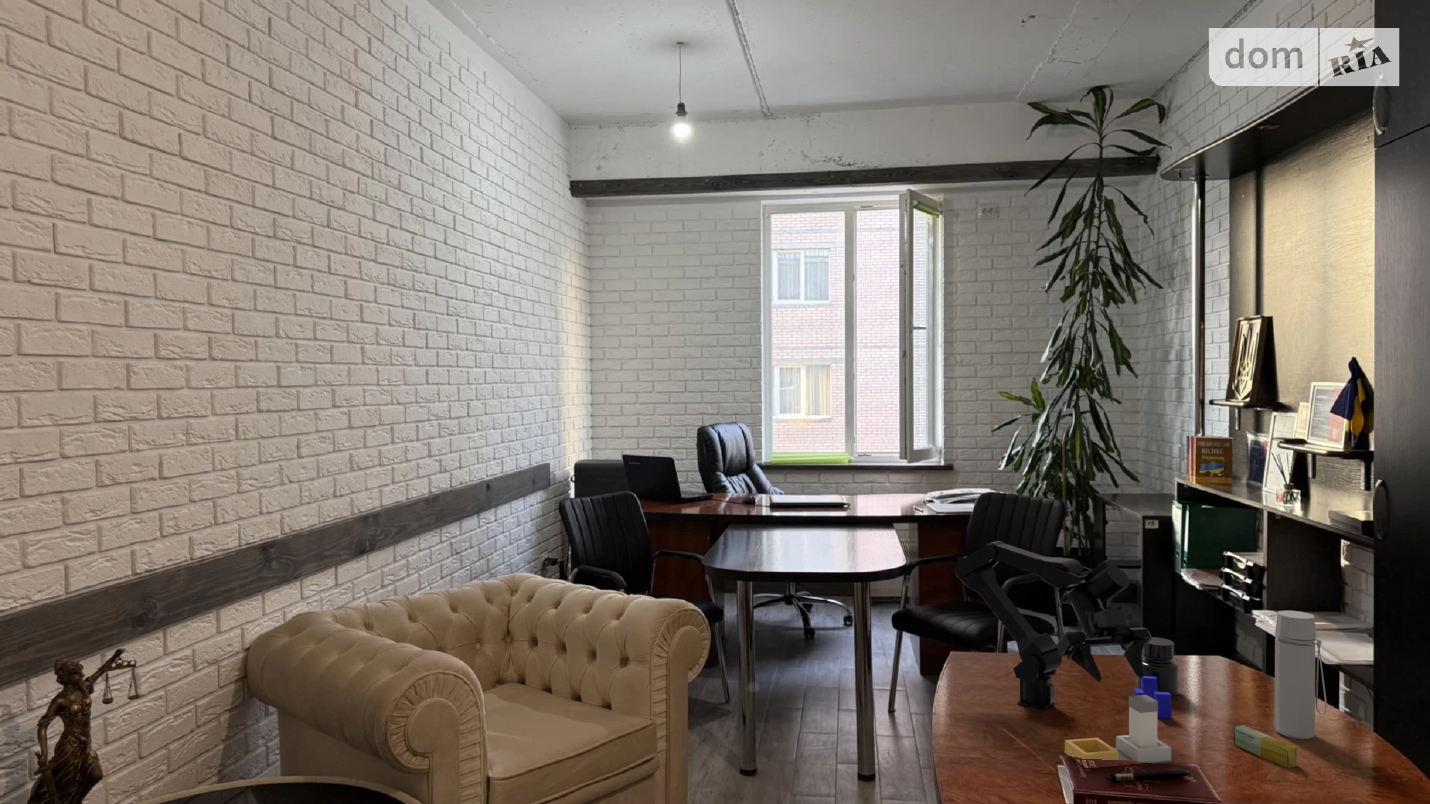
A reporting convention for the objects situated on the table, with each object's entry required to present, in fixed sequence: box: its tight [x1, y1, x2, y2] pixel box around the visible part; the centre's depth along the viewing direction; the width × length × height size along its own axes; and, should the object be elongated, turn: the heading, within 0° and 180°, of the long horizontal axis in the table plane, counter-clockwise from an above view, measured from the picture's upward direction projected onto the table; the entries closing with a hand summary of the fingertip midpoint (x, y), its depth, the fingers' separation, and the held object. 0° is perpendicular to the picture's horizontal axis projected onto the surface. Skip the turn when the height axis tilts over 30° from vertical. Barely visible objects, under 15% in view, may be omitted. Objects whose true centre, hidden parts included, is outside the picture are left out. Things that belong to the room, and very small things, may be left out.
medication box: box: [1233, 724, 1298, 769], centre depth 178 cm, size 12×3×4 cm, turn 20°
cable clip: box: [1133, 676, 1172, 720], centre depth 202 cm, size 12×4×6 cm, turn 169°
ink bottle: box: [1136, 636, 1180, 698], centre depth 213 cm, size 10×9×12 cm
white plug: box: [1128, 695, 1158, 748], centre depth 177 cm, size 4×4×11 cm
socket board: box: [1063, 734, 1174, 764], centre depth 176 cm, size 18×8×3 cm, turn 99°
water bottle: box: [1274, 610, 1327, 740], centre depth 187 cm, size 9×8×25 cm
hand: (1121, 679), depth 184 cm, fingers open, 9 cm apart
